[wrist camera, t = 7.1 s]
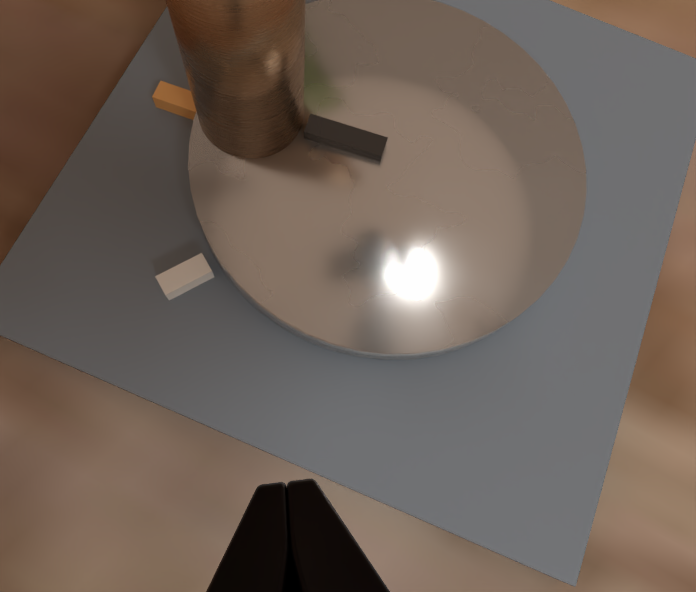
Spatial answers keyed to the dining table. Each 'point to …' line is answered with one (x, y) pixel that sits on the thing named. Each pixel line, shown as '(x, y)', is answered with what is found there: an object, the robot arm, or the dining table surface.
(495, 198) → the dial
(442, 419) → the dial board
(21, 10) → the dining table surface
